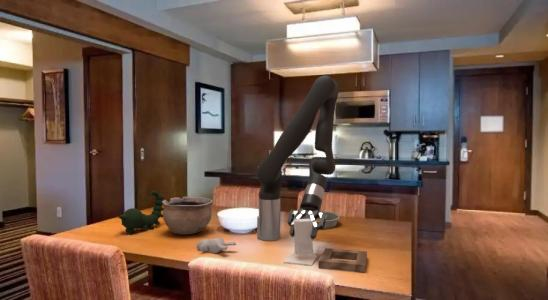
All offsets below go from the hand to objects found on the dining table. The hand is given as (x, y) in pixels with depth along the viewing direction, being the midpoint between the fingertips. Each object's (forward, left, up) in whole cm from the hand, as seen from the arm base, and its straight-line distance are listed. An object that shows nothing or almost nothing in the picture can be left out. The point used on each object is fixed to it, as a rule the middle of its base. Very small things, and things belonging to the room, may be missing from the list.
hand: (301, 237), depth 133 cm
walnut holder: (+14, +2, -9) cm, 17 cm away
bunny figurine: (-34, +1, -9) cm, 35 cm away
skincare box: (0, +1, -6) cm, 7 cm away
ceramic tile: (-1, +1, -9) cm, 9 cm away
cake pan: (-6, +57, -9) cm, 58 cm away
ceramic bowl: (-58, +23, -9) cm, 63 cm away
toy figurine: (-81, +21, -9) cm, 84 cm away
